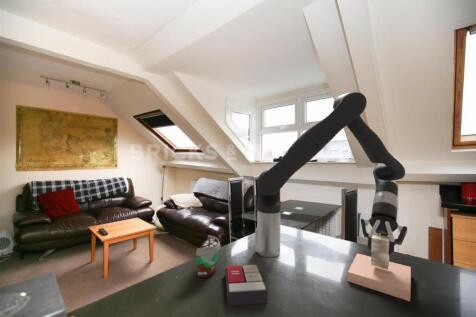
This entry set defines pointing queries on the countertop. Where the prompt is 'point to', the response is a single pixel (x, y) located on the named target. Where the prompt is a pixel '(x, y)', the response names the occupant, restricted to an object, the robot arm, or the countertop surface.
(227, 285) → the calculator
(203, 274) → the food container
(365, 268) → the plinth
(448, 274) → the countertop surface
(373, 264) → the ash block
